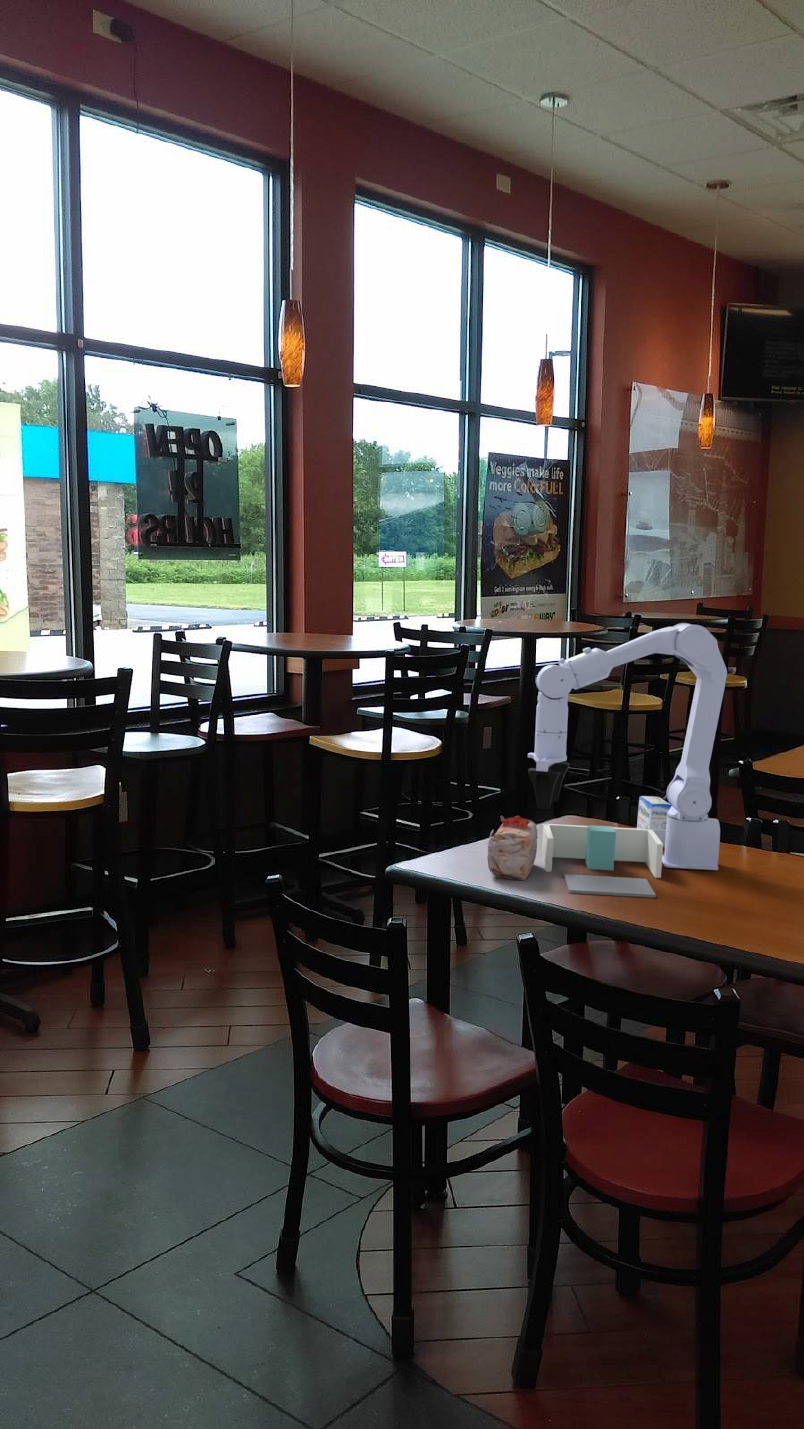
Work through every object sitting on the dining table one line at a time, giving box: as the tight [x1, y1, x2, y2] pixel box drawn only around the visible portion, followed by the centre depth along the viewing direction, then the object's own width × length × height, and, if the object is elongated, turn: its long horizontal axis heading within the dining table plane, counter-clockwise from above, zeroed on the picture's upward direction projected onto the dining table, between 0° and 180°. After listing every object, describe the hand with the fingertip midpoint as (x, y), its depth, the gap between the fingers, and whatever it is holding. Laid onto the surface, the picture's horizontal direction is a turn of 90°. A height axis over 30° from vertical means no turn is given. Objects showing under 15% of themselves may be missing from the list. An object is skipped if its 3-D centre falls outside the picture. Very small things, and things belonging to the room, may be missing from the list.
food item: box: [486, 815, 538, 881], centre depth 197 cm, size 14×8×10 cm, turn 168°
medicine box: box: [636, 795, 672, 848], centre depth 224 cm, size 8×4×9 cm, turn 6°
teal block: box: [585, 824, 616, 871], centre depth 203 cm, size 4×4×7 cm
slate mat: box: [563, 873, 657, 898], centre depth 190 cm, size 14×10×1 cm
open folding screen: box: [541, 823, 664, 879], centre depth 204 cm, size 20×12×6 cm, turn 86°
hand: (547, 804), depth 207 cm, fingers open, 7 cm apart
